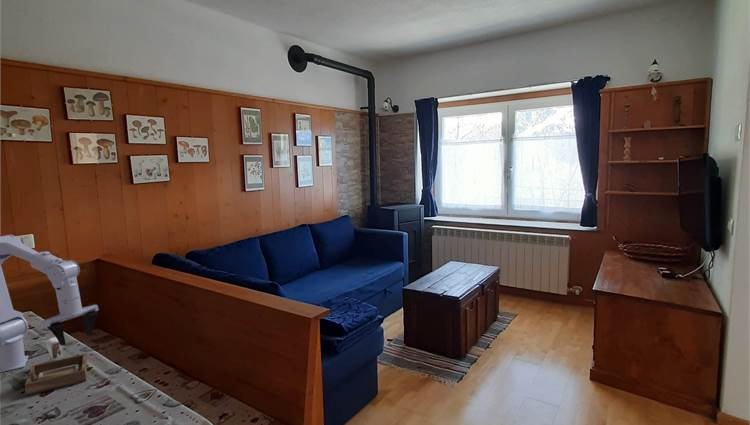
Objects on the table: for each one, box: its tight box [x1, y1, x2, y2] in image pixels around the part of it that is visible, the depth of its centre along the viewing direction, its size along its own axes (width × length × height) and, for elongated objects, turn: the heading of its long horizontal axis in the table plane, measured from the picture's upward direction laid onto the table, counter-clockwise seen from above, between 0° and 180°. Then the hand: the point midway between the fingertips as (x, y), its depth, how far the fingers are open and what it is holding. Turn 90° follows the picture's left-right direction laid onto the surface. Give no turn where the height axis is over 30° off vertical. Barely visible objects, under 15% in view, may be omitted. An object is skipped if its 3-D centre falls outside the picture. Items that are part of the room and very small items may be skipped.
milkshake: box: [46, 336, 65, 362], centre depth 132 cm, size 4×5×10 cm
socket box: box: [24, 353, 88, 397], centre depth 122 cm, size 14×14×4 cm
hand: (76, 339), depth 126 cm, fingers open, 7 cm apart
